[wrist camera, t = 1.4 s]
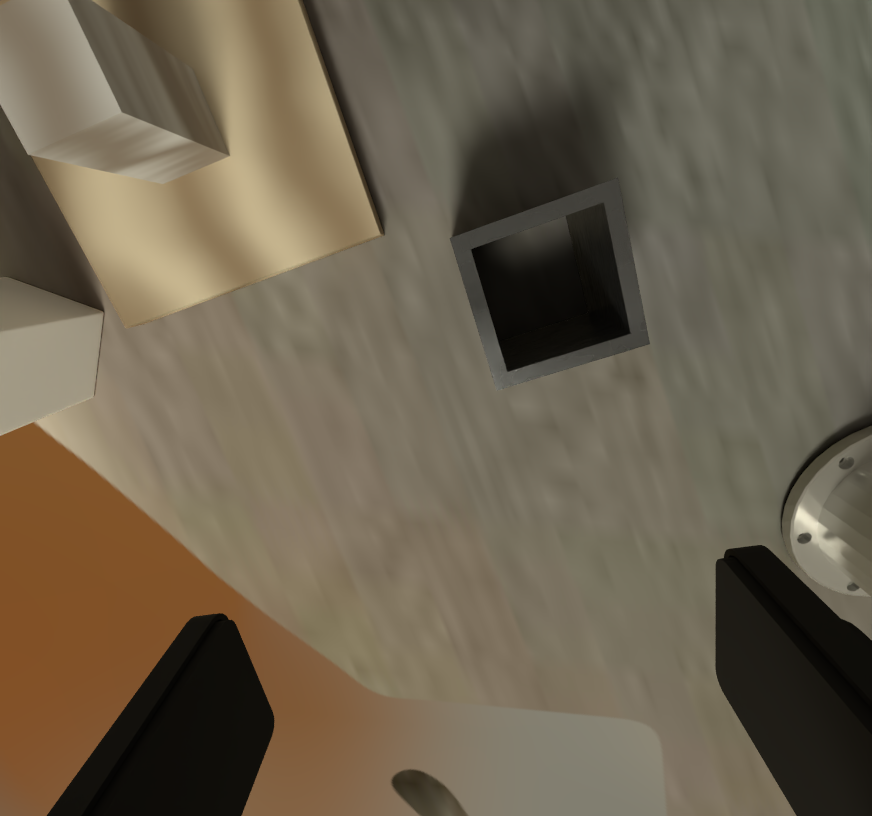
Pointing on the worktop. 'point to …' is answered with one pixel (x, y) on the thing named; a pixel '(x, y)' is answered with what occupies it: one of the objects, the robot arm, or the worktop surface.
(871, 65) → the worktop surface
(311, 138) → the post board
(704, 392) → the worktop surface
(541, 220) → the square metal tube
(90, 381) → the milk
